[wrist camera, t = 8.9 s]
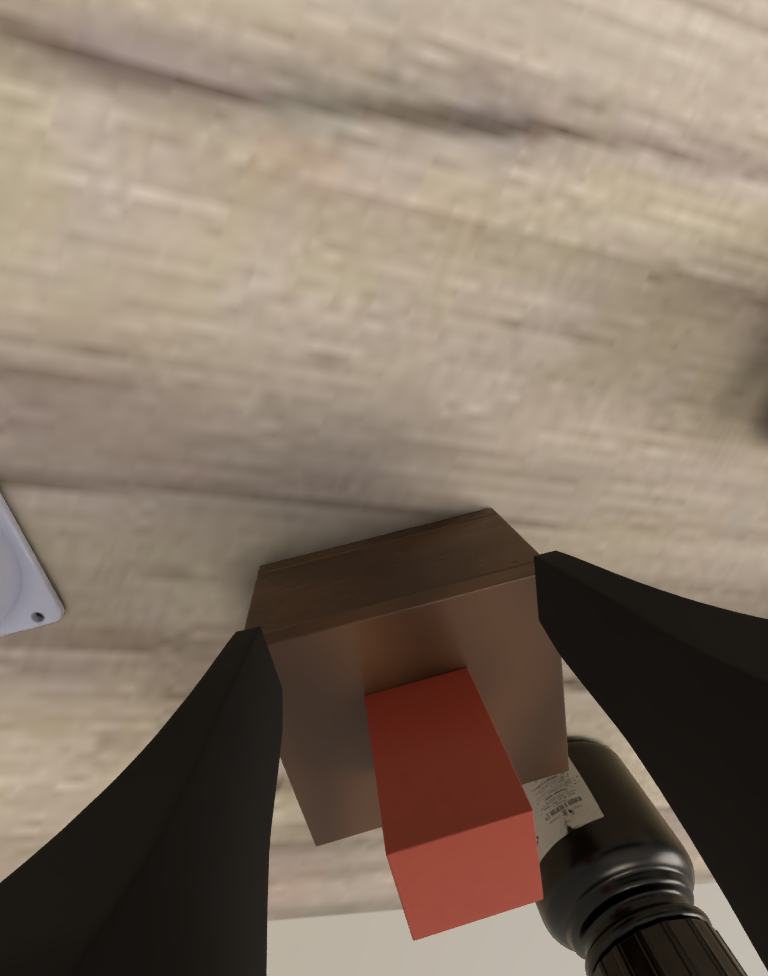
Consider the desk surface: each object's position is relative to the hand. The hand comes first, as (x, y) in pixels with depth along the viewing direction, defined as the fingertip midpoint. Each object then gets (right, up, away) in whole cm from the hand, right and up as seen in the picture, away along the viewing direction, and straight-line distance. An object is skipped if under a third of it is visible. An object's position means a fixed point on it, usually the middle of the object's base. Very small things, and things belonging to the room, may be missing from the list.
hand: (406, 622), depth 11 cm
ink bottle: (+11, -17, +19) cm, 28 cm away
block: (+1, -6, +7) cm, 9 cm away
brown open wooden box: (0, -4, +13) cm, 13 cm away
